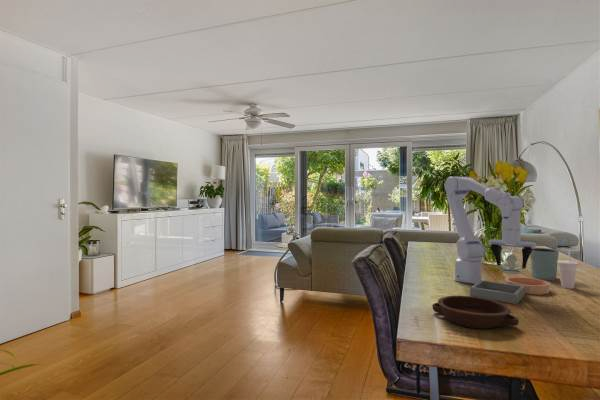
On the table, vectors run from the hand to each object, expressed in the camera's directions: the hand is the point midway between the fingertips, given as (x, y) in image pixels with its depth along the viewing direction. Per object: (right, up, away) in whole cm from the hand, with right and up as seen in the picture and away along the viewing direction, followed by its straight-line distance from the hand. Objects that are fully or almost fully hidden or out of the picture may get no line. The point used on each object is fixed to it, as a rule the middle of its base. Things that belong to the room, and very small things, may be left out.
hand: (511, 266), depth 124 cm
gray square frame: (-7, -10, -4) cm, 12 cm away
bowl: (+8, -9, +4) cm, 13 cm away
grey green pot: (+28, -9, +22) cm, 36 cm away
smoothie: (+25, -9, +6) cm, 28 cm away
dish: (-28, -10, -28) cm, 41 cm away
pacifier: (0, -2, 0) cm, 2 cm away
